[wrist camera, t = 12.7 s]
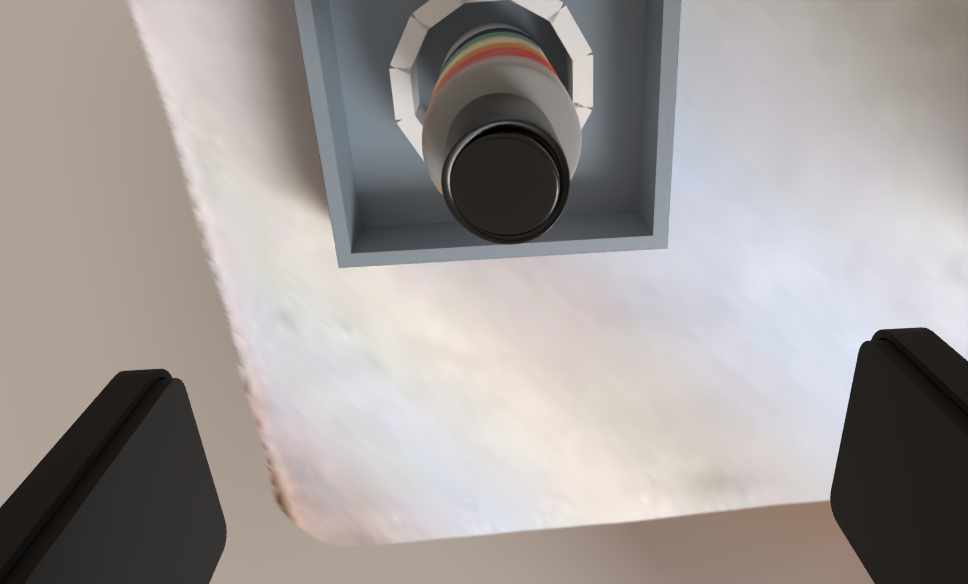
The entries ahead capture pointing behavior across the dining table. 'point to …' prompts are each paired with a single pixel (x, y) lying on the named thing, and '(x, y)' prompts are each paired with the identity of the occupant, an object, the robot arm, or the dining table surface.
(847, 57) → the dining table surface
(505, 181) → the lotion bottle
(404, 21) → the socket box
